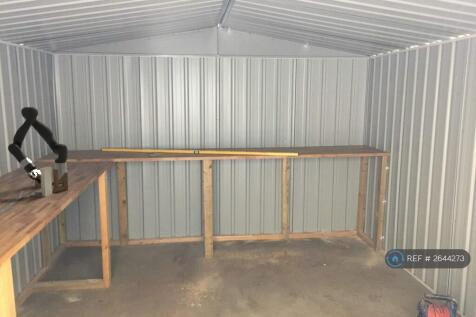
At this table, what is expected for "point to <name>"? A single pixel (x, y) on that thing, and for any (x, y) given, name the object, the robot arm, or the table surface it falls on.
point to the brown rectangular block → (37, 182)
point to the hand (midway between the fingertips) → (42, 182)
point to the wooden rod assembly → (63, 179)
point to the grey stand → (45, 183)
